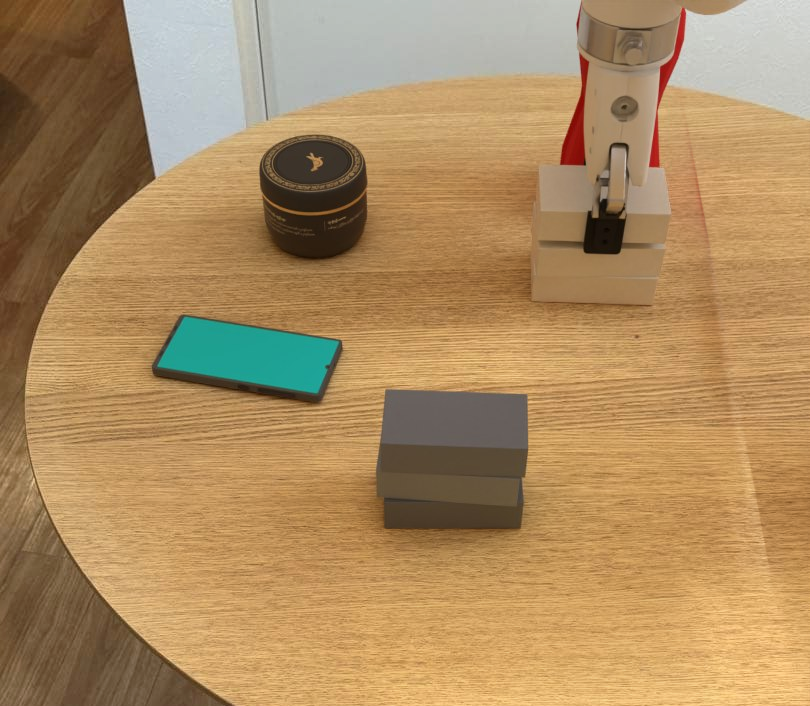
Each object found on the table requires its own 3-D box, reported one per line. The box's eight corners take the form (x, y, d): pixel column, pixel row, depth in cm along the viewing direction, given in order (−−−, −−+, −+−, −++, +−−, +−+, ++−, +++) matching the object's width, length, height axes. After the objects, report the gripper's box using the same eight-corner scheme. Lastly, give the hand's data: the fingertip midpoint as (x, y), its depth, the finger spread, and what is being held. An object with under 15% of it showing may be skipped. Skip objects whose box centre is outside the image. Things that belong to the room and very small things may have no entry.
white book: (658, 196, 104) (664, 167, 101) (665, 244, 99) (671, 214, 97) (536, 193, 104) (538, 164, 102) (537, 240, 100) (540, 210, 97)
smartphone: (180, 313, 103) (343, 339, 100) (182, 321, 103) (343, 347, 101) (149, 368, 98) (319, 397, 96) (151, 375, 99) (319, 404, 96)
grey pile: (520, 474, 91) (529, 391, 84) (520, 534, 88) (530, 451, 81) (382, 469, 92) (380, 385, 85) (377, 528, 88) (374, 445, 81)
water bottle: (643, 161, 119) (689, -95, 100) (656, 225, 112) (708, -38, 93) (554, 160, 119) (582, -96, 100) (561, 224, 112) (593, -39, 93)
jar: (333, 190, 116) (329, 120, 110) (389, 239, 111) (388, 169, 105) (247, 223, 113) (238, 153, 107) (299, 276, 107) (293, 206, 101)
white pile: (648, 256, 109) (659, 201, 105) (655, 307, 104) (666, 252, 100) (528, 252, 110) (533, 197, 105) (529, 303, 105) (534, 248, 100)
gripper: (688, 89, 83) (649, 288, 97) (667, -22, 94) (634, 170, 108) (583, 87, 83) (559, 285, 97) (574, -24, 94) (553, 168, 108)
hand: (599, 223), depth 102 cm, fingers closed on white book, 7 cm apart
